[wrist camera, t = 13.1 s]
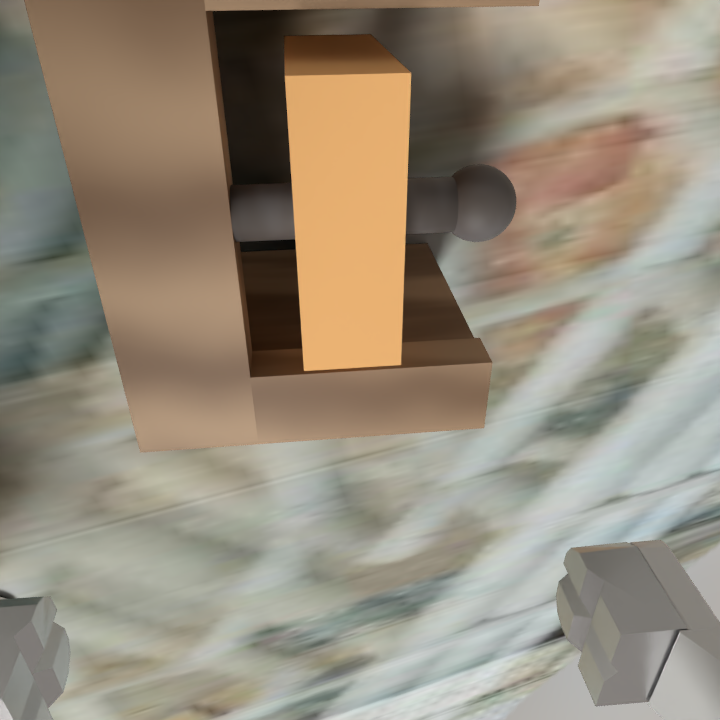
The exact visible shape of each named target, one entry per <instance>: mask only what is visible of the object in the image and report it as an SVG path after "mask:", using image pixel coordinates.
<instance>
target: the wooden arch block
mask: <svg viewBox="0 0 720 720" xmlns="http://www.w3.org/2000/svg"><path fill="white" fill-rule="evenodd" d="M284 59H285V87H286V102H287V118H288V133H289V149H290V164H291V179H292V195H293V210H294V226H295V241H296V256H297V272H298V287H299V302H300V318H301V333H302V349H303V364H304V371H312V370H329V369H345V368H361V367H377V366H394V365H401V350H402V322H403V294H404V265H405V237H406V209H407V180H408V152H409V123H410V95H411V72H410V71H409V70H408V69H407V68H406V67H404V66H403V65H402V64H401V63H400V62H399V61H398V60H397V59H396V58H395V57H394V56H393V55H392V54H391V53H390V52H389V51H388V50H387V49H386V48H385V47H383V46H382V45H381V44H380V43H379V42H378V41H377V40H376V39H375V38H374V37H373V36H372V35H371V34H361V35H306V36H284Z"/></svg>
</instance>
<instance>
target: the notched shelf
mask: <svg viewBox="0 0 720 720" xmlns="http://www.w3.org/2000/svg"><path fill="white" fill-rule="evenodd" d="M24 2H25V5H26V9H27V13H28V17H29V21H30V25H31V29H32V33H33V37H34V40H35V44H36V48H37V52H38V56H39V60H40V64H41V68H42V72H43V75H44V79H45V83H46V87H47V91H48V95H49V99H50V103H51V107H52V110H53V114H54V118H55V122H56V126H57V130H58V134H59V138H60V142H61V145H62V149H63V153H64V157H65V161H66V165H67V169H68V173H69V177H70V181H71V184H72V188H73V192H74V196H75V200H76V204H77V208H78V212H79V216H80V219H81V223H82V227H83V231H84V235H85V239H86V243H87V247H88V251H89V254H90V258H91V262H92V266H93V270H94V274H95V278H96V282H97V286H98V289H99V293H100V297H101V301H102V305H103V309H104V313H105V317H106V321H107V324H108V328H109V332H110V336H111V340H112V344H113V348H114V352H115V356H116V359H117V363H118V367H119V371H120V375H121V379H122V383H123V387H124V391H125V394H126V398H127V402H128V406H129V410H130V414H131V418H132V422H133V426H134V430H135V433H136V437H137V441H138V445H139V449H140V452H154V451H168V450H182V449H196V448H210V447H224V446H238V445H252V444H266V443H280V442H294V441H308V440H323V439H337V438H351V437H365V436H379V435H393V434H407V433H421V432H435V431H449V430H463V429H477V428H484V424H485V416H486V408H487V400H488V393H489V385H490V377H491V370H492V361H491V359H490V357H489V355H488V353H487V351H486V349H485V347H484V345H483V343H482V341H481V339H480V338H474V337H473V335H472V333H471V331H470V329H469V327H468V325H467V323H466V320H465V318H464V316H463V314H462V312H461V310H460V308H459V306H458V304H457V302H456V300H455V298H454V296H453V294H452V292H451V290H450V288H449V286H448V284H447V282H446V280H445V278H444V276H443V274H442V272H441V270H440V268H439V266H438V264H437V262H436V260H435V258H434V256H433V254H432V251H431V249H430V247H429V245H428V243H425V244H405V265H404V294H403V322H402V350H401V365H394V366H377V367H361V368H345V369H329V370H312V371H304V364H303V349H302V333H301V318H300V302H299V287H298V272H297V256H296V249H295V250H273V251H251V252H241V251H240V242H244V241H267V240H289V239H295V226H294V210H293V195H292V183H272V184H245V185H233V182H232V174H231V165H230V157H229V148H228V139H227V131H226V122H225V114H224V105H223V97H222V88H221V79H220V71H219V62H218V54H217V45H216V37H215V28H214V19H213V11H226V10H293V9H361V8H428V7H496V6H539V0H24ZM515 209H516V194H515V190H514V187H513V185H512V183H511V181H510V180H509V179H508V177H507V176H506V175H505V174H504V173H503V172H501V171H500V170H498V169H497V168H495V167H492V166H489V165H482V164H478V165H471V166H467V167H465V168H463V169H461V170H459V171H457V172H456V173H455V174H454V175H452V176H451V177H432V178H408V180H407V209H406V234H423V233H446V232H452V233H453V234H454V235H456V236H457V237H459V238H461V239H463V240H467V241H472V242H482V241H486V240H489V239H492V238H494V237H496V236H498V235H499V234H500V233H502V232H503V231H504V230H505V229H506V228H507V226H508V225H509V224H510V222H511V220H512V218H513V216H514V213H515Z"/></svg>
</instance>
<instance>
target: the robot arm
mask: <svg viewBox="0 0 720 720" xmlns="http://www.w3.org/2000/svg"><path fill="white" fill-rule="evenodd" d="M564 566H565V568H566V570H567V572H568V574H567V575H566V576H565V577H563V578H562V579H561V580H560V581H559V584H558V588H557V593H556V600H557V612H558V616H559V620H560V623H561V626H562V629H563V631H564V634H565V636H566V639H567V640H568V641H569V642H570V643H571V644H573V645H574V646H575V647H576V648H578V649H579V650H580V651H581V652H582V653H581V657H580V660H579V664H578V667H579V669H580V672H581V674H582V676H583V679H584V681H585V683H586V685H587V688H588V690H589V692H590V695H591V697H592V699H593V702H594V704H595V706H605V705H617V704H629V703H640V702H649V703H648V706H649V707H651V708H652V709H653V710H654V711H655V712H656V713H657V714H658V715H659V716H660V717H661V718H662V719H663V720H720V622H719V620H718V619H717V617H716V616H715V615H714V613H713V611H712V610H711V608H710V607H709V605H708V604H707V603H706V601H705V600H704V598H703V597H702V595H701V594H700V592H699V591H698V589H697V588H696V586H695V585H694V583H693V582H692V580H691V579H690V577H689V576H688V574H687V573H686V572H685V570H684V569H683V567H682V566H681V564H680V563H679V561H678V560H677V558H676V557H675V555H674V554H673V552H672V551H671V549H670V548H669V546H668V545H667V544H666V543H664V542H663V541H662V540H652V541H641V542H631V543H627V542H623V543H613V544H604V545H594V546H585V547H575V548H571V549H570V550H569V551H568V552H567V553H566V556H565V560H564ZM56 612H57V609H56V606H55V604H54V602H53V600H52V598H51V596H47V597H31V598H15V599H6V598H3V597H0V720H53V718H52V716H51V714H50V711H49V709H48V708H49V707H50V706H51V705H52V704H53V702H54V701H55V700H56V699H57V698H58V697H59V696H60V695H61V694H62V693H63V691H64V688H65V684H66V680H67V677H68V673H69V662H70V646H69V638H68V636H67V633H66V631H65V628H63V627H61V626H60V625H58V624H56V623H55V622H53V621H54V618H55V615H56Z"/></svg>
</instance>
